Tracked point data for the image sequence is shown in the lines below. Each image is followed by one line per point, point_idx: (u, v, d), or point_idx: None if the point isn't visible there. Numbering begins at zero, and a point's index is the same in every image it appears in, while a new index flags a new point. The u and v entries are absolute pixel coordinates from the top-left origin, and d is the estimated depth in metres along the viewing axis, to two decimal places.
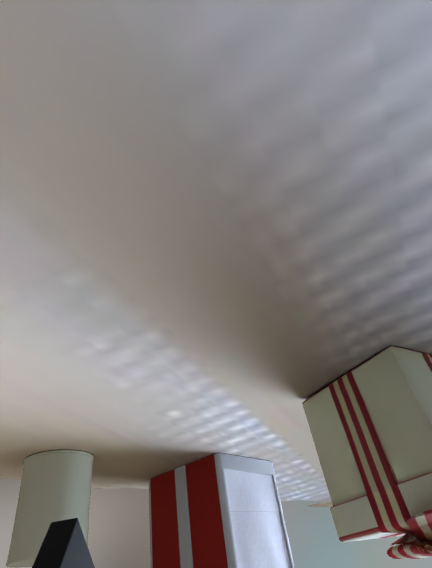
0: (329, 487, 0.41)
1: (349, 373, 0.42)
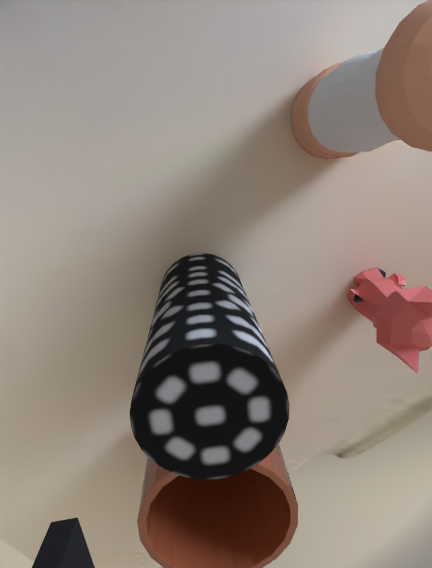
0: None
1: None
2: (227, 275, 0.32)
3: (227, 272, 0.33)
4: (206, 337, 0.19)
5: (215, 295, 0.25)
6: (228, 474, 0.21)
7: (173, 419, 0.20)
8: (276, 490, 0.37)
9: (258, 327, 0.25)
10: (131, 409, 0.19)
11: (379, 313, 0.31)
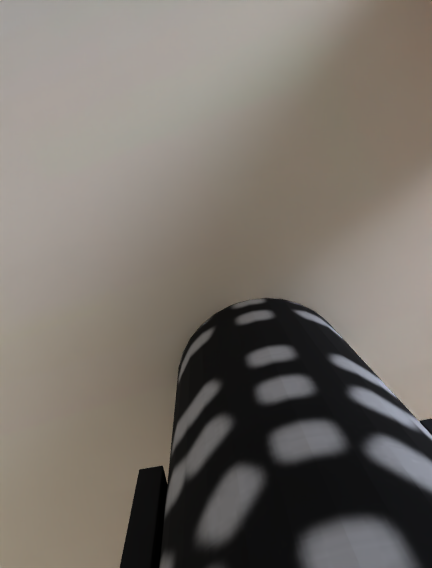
0: None
1: None
2: (356, 368, 0.12)
3: (344, 353, 0.13)
4: None
5: None
6: None
7: None
8: None
9: None
10: None
11: None
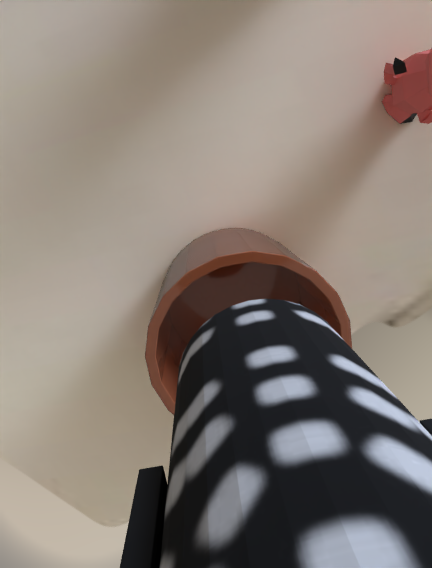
0: None
1: None
2: (356, 369, 0.12)
3: (345, 353, 0.13)
4: None
5: None
6: None
7: None
8: None
9: None
10: None
11: None
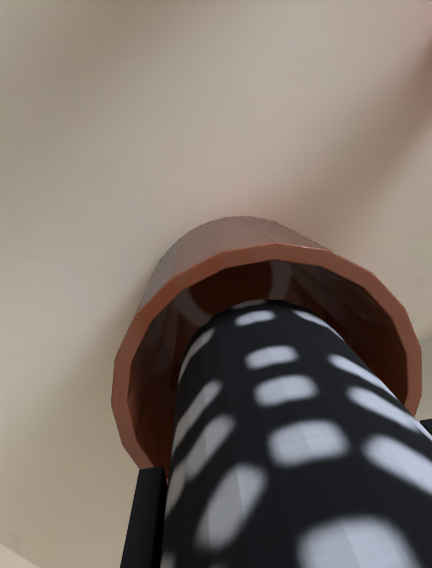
0: None
1: None
2: (356, 369, 0.12)
3: (345, 354, 0.13)
4: None
5: None
6: None
7: None
8: None
9: None
10: None
11: None
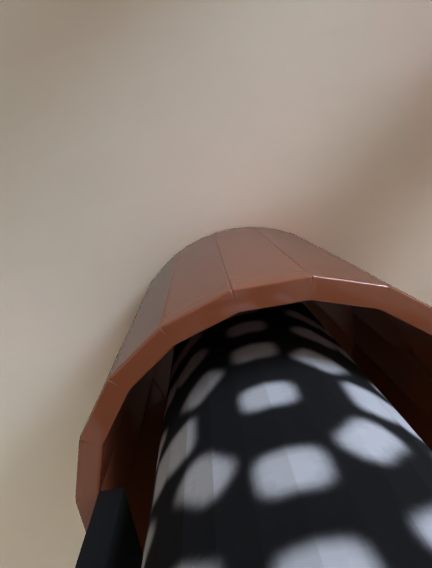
0: None
1: None
2: (303, 318, 0.16)
3: (298, 310, 0.17)
4: None
5: (317, 401, 0.09)
6: None
7: None
8: (409, 420, 0.17)
9: None
10: None
11: None
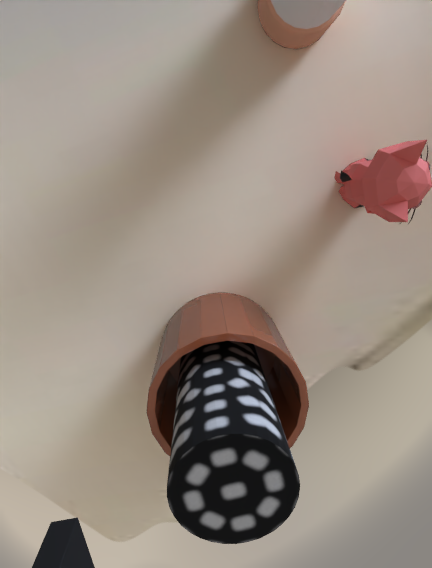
0: None
1: None
2: (237, 342, 0.36)
3: None
4: (221, 426, 0.23)
5: (227, 373, 0.29)
6: (256, 537, 0.24)
7: (203, 497, 0.23)
8: (287, 387, 0.37)
9: (267, 398, 0.29)
10: (168, 493, 0.23)
11: (364, 175, 0.31)
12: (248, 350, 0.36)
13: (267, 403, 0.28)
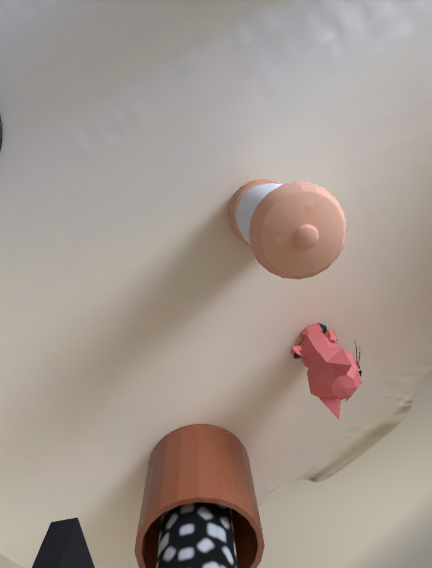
0: None
1: None
2: None
3: None
4: None
5: (197, 532, 0.38)
6: None
7: None
8: None
9: (228, 556, 0.37)
10: None
11: (308, 371, 0.39)
12: None
13: (227, 564, 0.36)
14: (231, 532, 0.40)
